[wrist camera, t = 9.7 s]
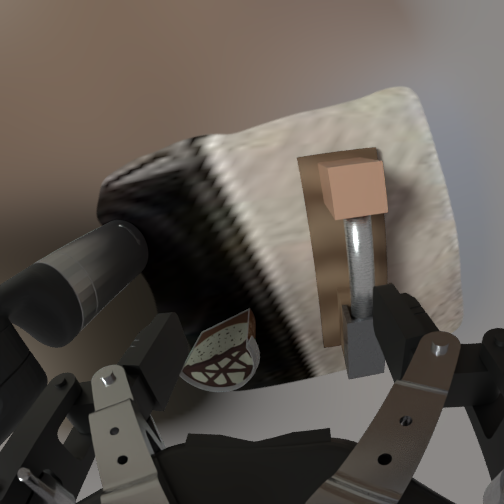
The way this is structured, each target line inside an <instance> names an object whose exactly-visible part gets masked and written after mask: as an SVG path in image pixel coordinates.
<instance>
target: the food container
mask: <svg viewBox="0 0 504 504" xmlns="http://www.w3.org/2000/svg"><path fill="white" fill-rule="evenodd" d="M255 334H256V321H255V316H254V314H253V312H252V310H251V309H250V308H249V309H247V310H245V311H243V312H241V313H239V314H237V315H235V316H233V317H231V318H229V319H227V320H225V321H223V322H221V323H219V324H217V325H215V326H213V327H211V328H209V329H206V330H204V331H202V332H201V334H200V336H199V338H198V339H197V341H196V343H195V345H194V347H193V349H192V350H191V352H190V354H189V356H188V358H187V359H186V361H185V364H184V366H183V368H182V370H181V373H180V375H179V376H180V377H181V378H182V379H184V380H185V381H186V382H188V383H190V384H191V385H193V386H196V387H198V388H200V389H203V390H207V391H213V392H227V391H232V390H235V389H238V388H240V387H242V386H243V385H245V384H246V383H247V382H248V381H249V380H250V379H251V378H252V376H253V375H254V373H255V371H256V369H257V367H258V364H259V360H260V352H259V348H258V345H257V343H256V340H255Z"/></svg>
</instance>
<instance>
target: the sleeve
mask: <svg viewBox="0 0 504 504" xmlns="http://www.w3.org/2000/svg"><path fill="white" fill-rule="evenodd" d="M342 317H343V334H344V359H345V364H346V369H347V374H348V378H349V379H353V378H359V377H364V376H370V375H375V374H379V373H384V366H385V357H384V355H383V352H382V350H381V348H380V345H379V343H378V340H377V338H376V336H375V332H374V327H373V316H371V317H366V318H360V319H354V320H351V317H350V314H349V311H348V308H347V305H346V304H345V305H342Z"/></svg>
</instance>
